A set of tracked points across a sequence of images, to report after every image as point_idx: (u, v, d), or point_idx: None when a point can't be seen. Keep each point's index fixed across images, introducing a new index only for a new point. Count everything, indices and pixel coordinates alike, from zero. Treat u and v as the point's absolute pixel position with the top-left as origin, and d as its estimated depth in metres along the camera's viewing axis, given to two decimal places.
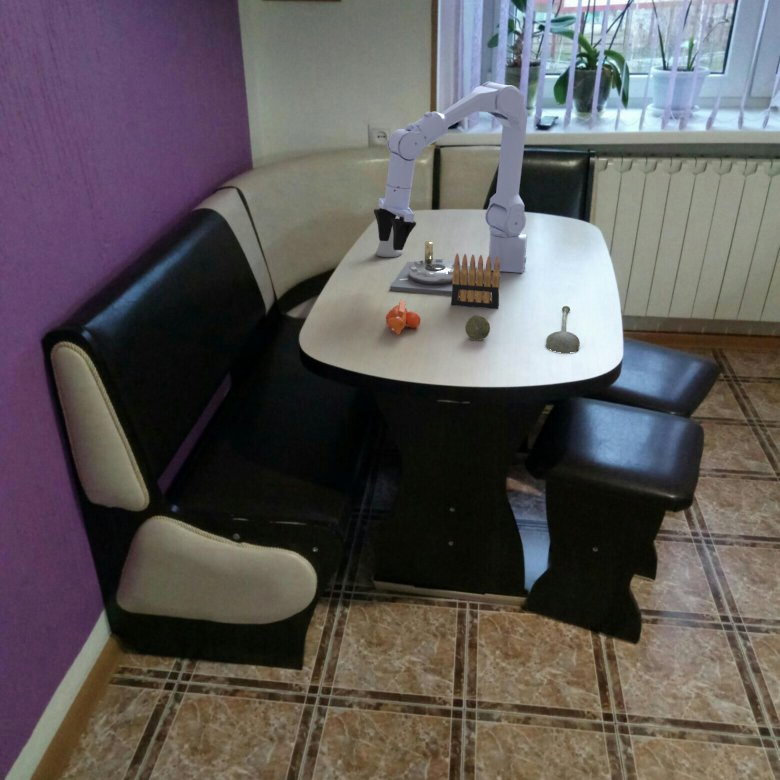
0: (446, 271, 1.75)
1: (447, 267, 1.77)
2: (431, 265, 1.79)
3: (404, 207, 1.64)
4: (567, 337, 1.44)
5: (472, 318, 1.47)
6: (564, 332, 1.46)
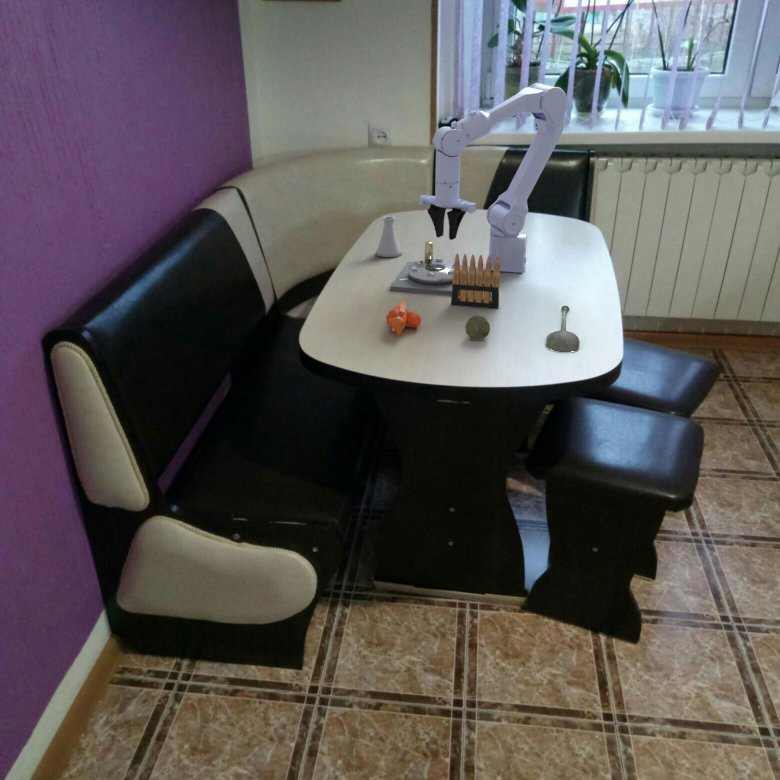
0: (446, 271, 1.75)
1: (447, 267, 1.77)
2: (431, 265, 1.79)
3: (458, 199, 1.72)
4: (567, 337, 1.45)
5: (472, 318, 1.47)
6: (564, 331, 1.46)
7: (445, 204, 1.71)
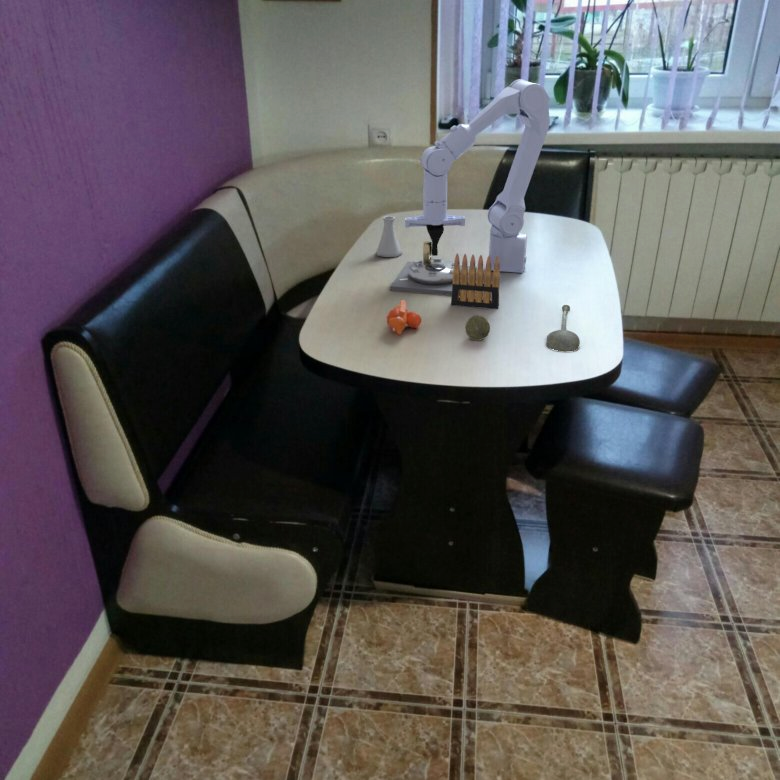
0: (447, 271, 1.75)
1: (447, 267, 1.78)
2: (431, 265, 1.79)
3: None
4: (567, 336, 1.45)
5: (472, 318, 1.47)
6: (564, 331, 1.47)
7: (441, 222, 1.74)
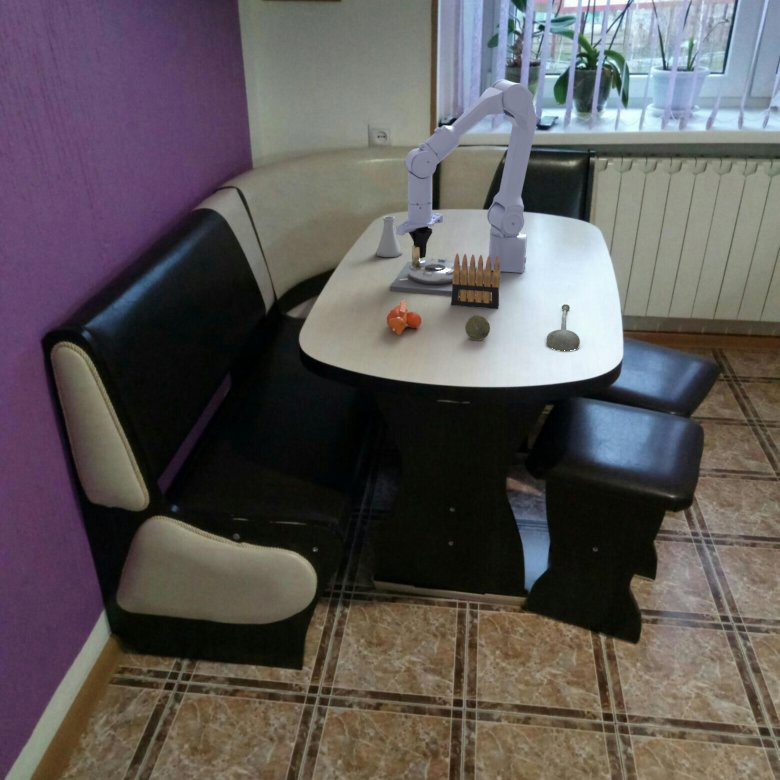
0: (450, 267, 1.78)
1: (442, 264, 1.79)
2: (428, 267, 1.78)
3: None
4: (567, 336, 1.45)
5: (472, 318, 1.47)
6: (564, 330, 1.47)
7: None
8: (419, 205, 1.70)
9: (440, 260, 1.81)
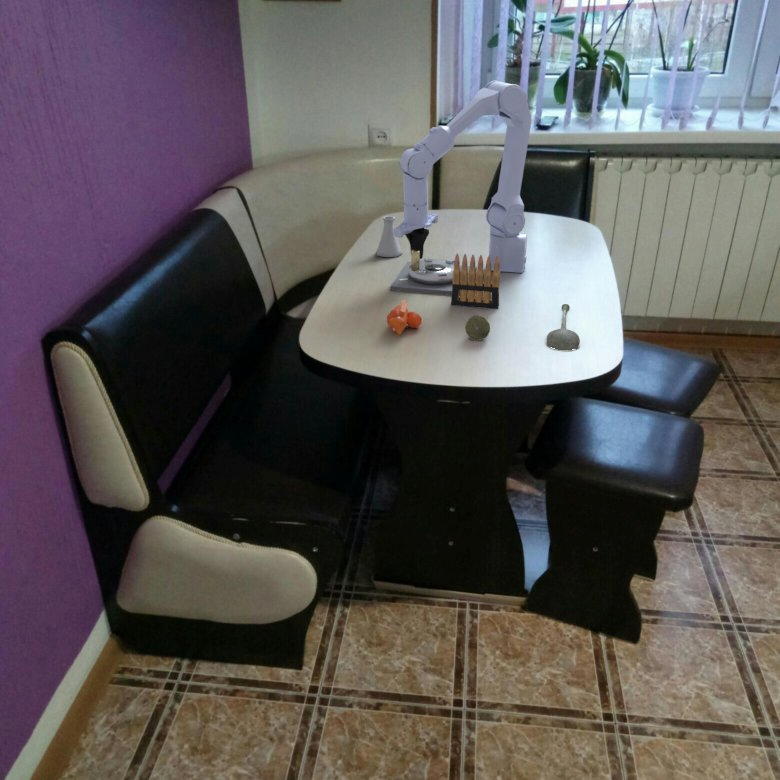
0: (445, 264, 1.80)
1: (434, 263, 1.80)
2: (428, 268, 1.77)
3: None
4: (567, 335, 1.45)
5: (472, 318, 1.47)
6: (564, 330, 1.47)
7: None
8: (416, 206, 1.68)
9: (428, 260, 1.81)
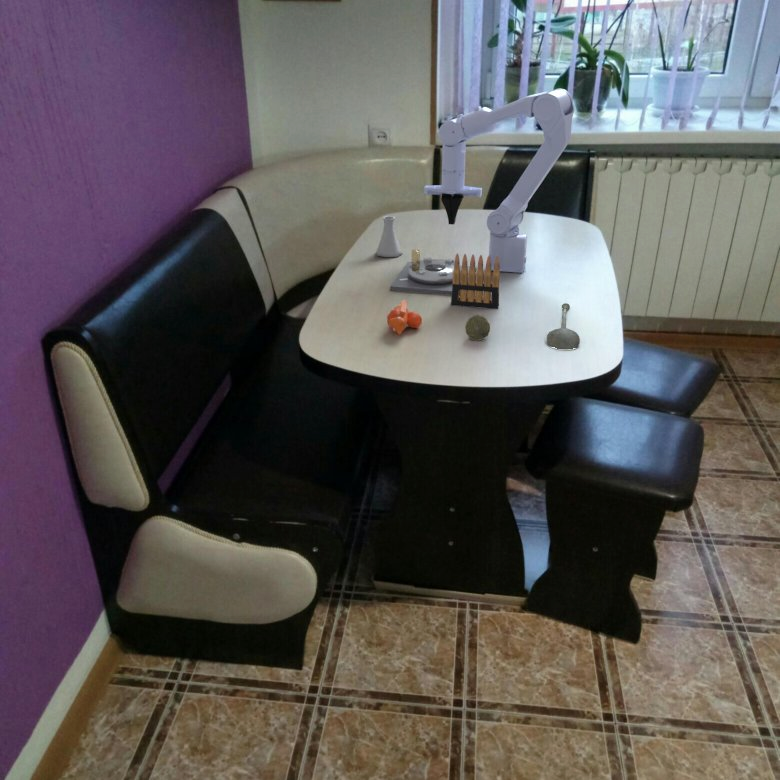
0: (445, 264, 1.80)
1: (434, 263, 1.80)
2: (429, 268, 1.77)
3: (464, 186, 1.84)
4: (567, 334, 1.46)
5: (472, 318, 1.47)
6: (564, 329, 1.47)
7: (455, 191, 1.81)
8: (443, 171, 1.81)
9: (427, 260, 1.81)
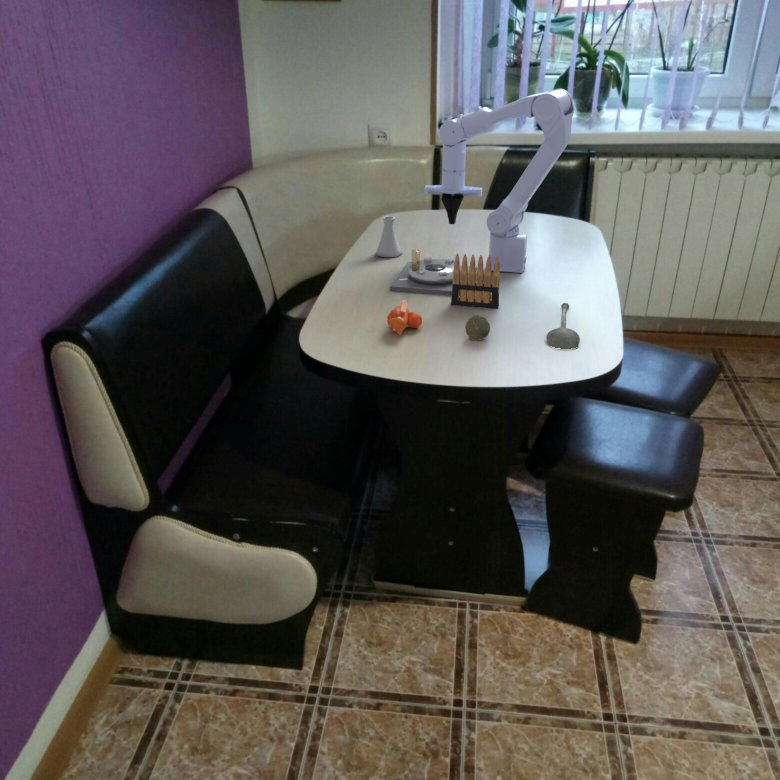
0: (445, 264, 1.80)
1: (434, 263, 1.80)
2: (429, 268, 1.77)
3: (464, 186, 1.84)
4: (567, 334, 1.46)
5: (472, 318, 1.47)
6: (564, 328, 1.47)
7: (456, 191, 1.81)
8: (443, 171, 1.81)
9: (427, 260, 1.81)
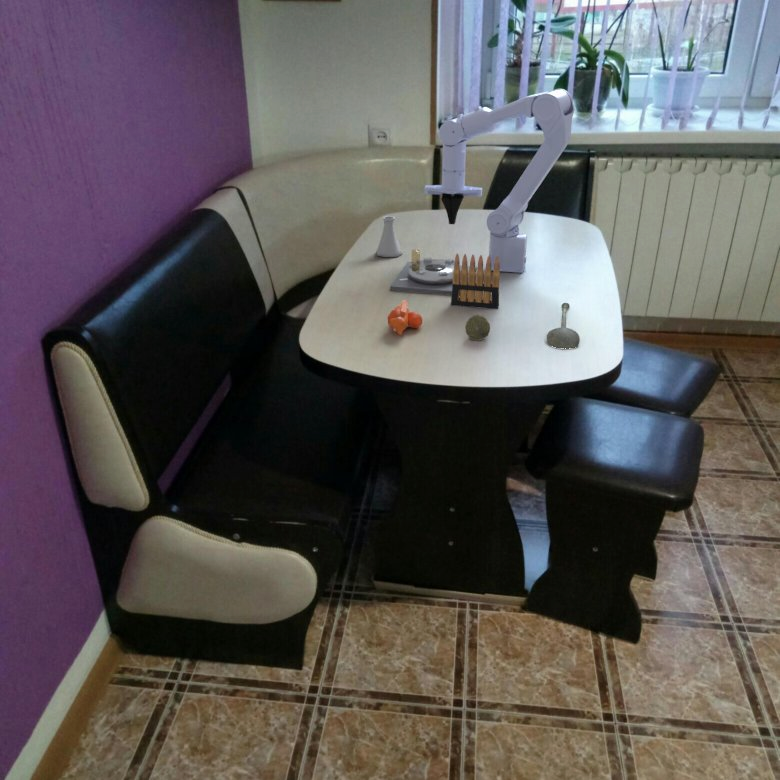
0: (445, 264, 1.80)
1: (434, 263, 1.80)
2: (429, 268, 1.77)
3: (464, 186, 1.84)
4: (567, 333, 1.46)
5: (472, 318, 1.47)
6: (564, 328, 1.48)
7: (456, 191, 1.81)
8: (443, 171, 1.81)
9: (427, 260, 1.81)
